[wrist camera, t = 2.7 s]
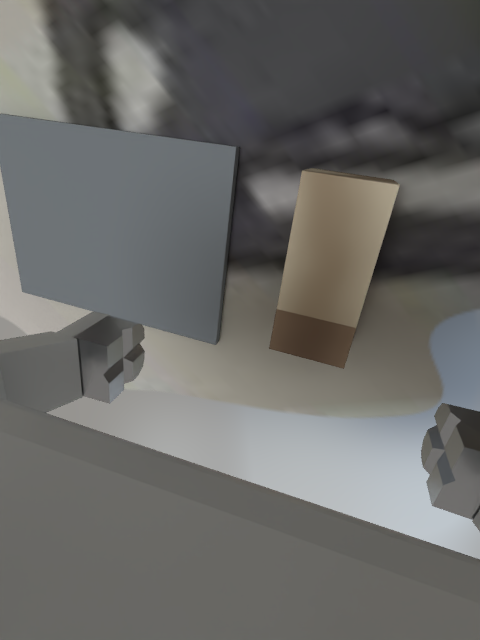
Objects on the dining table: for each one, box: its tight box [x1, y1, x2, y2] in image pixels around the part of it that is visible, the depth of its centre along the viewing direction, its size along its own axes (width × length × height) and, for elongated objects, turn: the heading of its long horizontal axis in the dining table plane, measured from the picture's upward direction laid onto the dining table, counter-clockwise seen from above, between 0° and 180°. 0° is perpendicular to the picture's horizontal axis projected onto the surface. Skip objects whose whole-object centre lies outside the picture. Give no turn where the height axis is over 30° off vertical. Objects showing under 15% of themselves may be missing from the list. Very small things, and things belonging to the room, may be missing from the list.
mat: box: [0, 114, 240, 345], centre depth 23 cm, size 16×12×1 cm
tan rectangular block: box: [269, 168, 400, 368], centre depth 18 cm, size 4×9×4 cm, turn 172°
